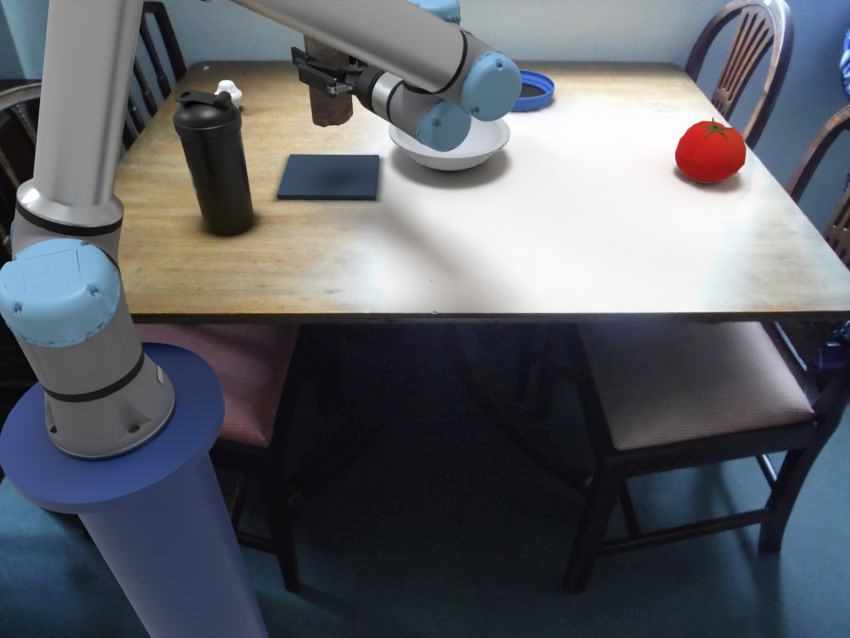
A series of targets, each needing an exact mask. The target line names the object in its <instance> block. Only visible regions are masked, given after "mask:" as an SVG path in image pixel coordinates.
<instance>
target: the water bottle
mask: <svg viewBox="0 0 850 638" xmlns="http://www.w3.org/2000/svg"><path fill="white" fill-rule="evenodd" d="M231 100H232V97H231V94H230V93H229V92H227V91H221V92H220V93H219V94H218V95H215V93H210V92H204V91H201V90H198V89H194V88H185V89H182V90H180V92H179V93H178V94H177V95H176V96H175V97H174V102H175V103H179V105H178V106H177V108H176V109H175V111H174V112H175V113H174V114H173V116H172V123H173V127H174V130H175V132H176V134H177V136H178V137H179V139H180V143H181V147H182V151H183V153H184V157H185V162H186V164H187V165H186V166H187V169H188V174H189V175H190V180H191V183H192V186H193V191H194V193H195V198H196V200H197V204H198V206H199V210H200V214H201V218H202V220H203V225H204V227H205V230H206V232H208V233H210V234H211V235H214V236H218V237H233V236H237V235H241V234H243V233H245V232H247V231H249V230H250V229H251V228H252V227H253V226H254V224H255V219H256V218H255V214H254V207H253V199H252V194H251V193H252V192H251V188H250V187H251V186H250V181H249V175H248V168H247V160H246V154H245V147H244V143H243V142H244V141H243V135H242V125H243V119H242V114H241V110H240V108H239V109H238V108H237V107H236V106H235V105H234V104H233V103H232V101H231Z"/></svg>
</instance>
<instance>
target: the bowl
mask: <svg viewBox="0 0 850 638" xmlns="http://www.w3.org/2000/svg"><path fill="white" fill-rule="evenodd" d="M518 69H519V68H518ZM519 70H520V73H521V77H522V89H521V93H520V96H519V98H518V100H517V102H516V104H515V105H514V107H513V108H512V110H511V111H512V112H513V111H514V112H525V111H533V110H537V109H541V108H544V107H545V106H547V105H548V104H549V103H550V102H551V100H552V97H553V95H554V92H555V90H556V89H555V87H556V84H555V82H554V81H553V79H551V77H549V76H547V75H545V74H543V73H541V72H537V71H534V70H527V69H522V68H521V69H519Z"/></svg>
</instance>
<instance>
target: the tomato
mask: <svg viewBox="0 0 850 638" xmlns="http://www.w3.org/2000/svg"><path fill="white" fill-rule="evenodd" d="M746 157H747V145H746V142H745V140H744V137H743V136H742V134H741V133H740V132H739V131H738V130H737V129H735V127H731V126H730V127H729V126H725V125H724V124H723V123H720V122H717V121H715V119H714V117H713V116H712V117H711V120H700V121H698V122H696V123H694V124H692V125H691V126H689V127H688V128H687V129H686V131H685V132H684V134H683V135H682V136H681V137H680V138H679V140H678V143H677V146H676V148H675V151H674V160H675V164H676V166H677V168H678V170H679V171H680V172H681V173H682V174H683V175H684V176H685V177H687V178H689V179H691V180H693V181H695V182H697V183H709V184H710V183H711V184H712V183H718V182H721V181H725V180H727V179H730V178H731V177H732V176H734V175H736V173H738V172H739V171H740V170H741V169H742V168H743V167H744V166H745V164H746Z"/></svg>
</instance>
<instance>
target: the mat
mask: <svg viewBox="0 0 850 638" xmlns="http://www.w3.org/2000/svg"><path fill="white" fill-rule="evenodd" d="M379 166H380V154H329V153H328V154H324V153H323V154H321V153H320V154H318V153H317V154H315V153H312V154H311V153H309V154H308V153H307V154H305V153H303V154H302V153H290V154H289V157H288V159H287V162H286V166H285V169H284V171H283V175H282V177H281V180H280V181H281V182H280V184H279V187H278V191H277V194H276V198H277V200H319V201H321V200H323V201H324V200H325V201H326V200H327V201H329V200H331V201H333V200H335V201H341V200H342V201H376V198H377V197H376V196H377V186H378V176H379Z"/></svg>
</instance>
